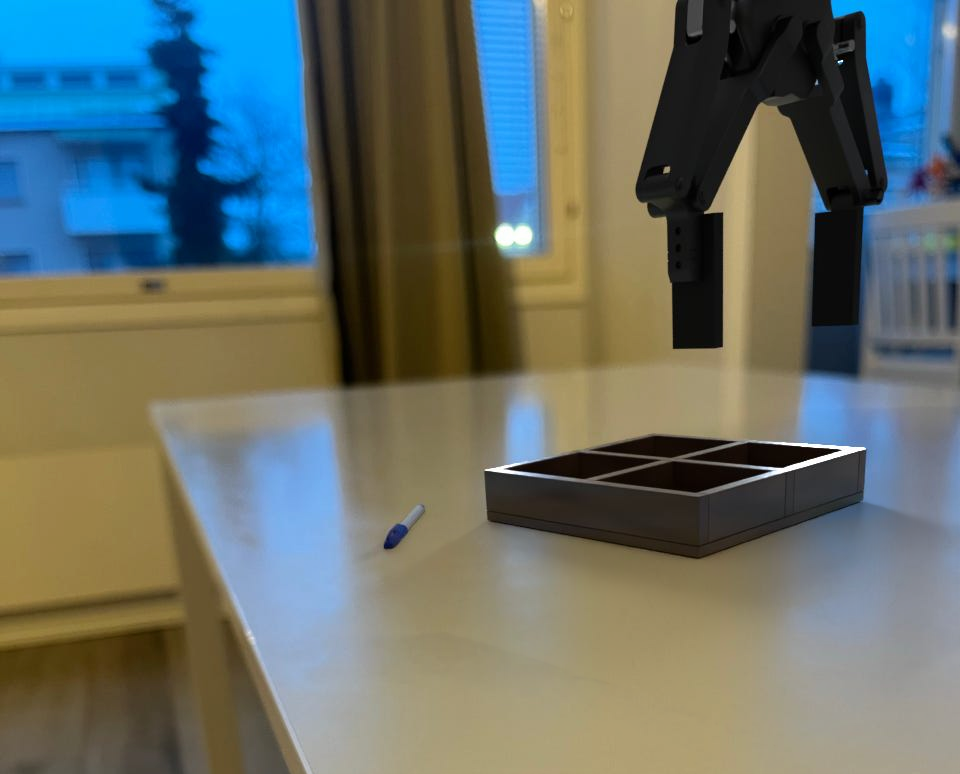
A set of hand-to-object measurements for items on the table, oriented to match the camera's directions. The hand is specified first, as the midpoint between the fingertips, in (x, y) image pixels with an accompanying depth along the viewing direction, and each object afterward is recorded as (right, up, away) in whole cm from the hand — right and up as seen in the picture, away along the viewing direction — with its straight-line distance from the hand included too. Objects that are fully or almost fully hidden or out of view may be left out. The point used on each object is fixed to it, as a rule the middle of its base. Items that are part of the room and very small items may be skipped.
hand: (771, 336), depth 56 cm
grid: (-5, -9, +4) cm, 11 cm away
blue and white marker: (-21, -11, +4) cm, 24 cm away
